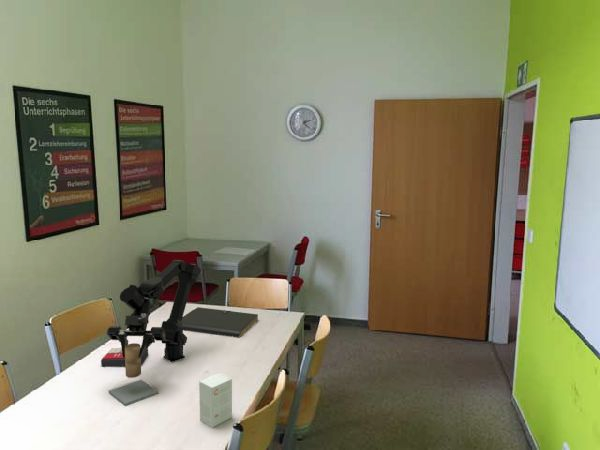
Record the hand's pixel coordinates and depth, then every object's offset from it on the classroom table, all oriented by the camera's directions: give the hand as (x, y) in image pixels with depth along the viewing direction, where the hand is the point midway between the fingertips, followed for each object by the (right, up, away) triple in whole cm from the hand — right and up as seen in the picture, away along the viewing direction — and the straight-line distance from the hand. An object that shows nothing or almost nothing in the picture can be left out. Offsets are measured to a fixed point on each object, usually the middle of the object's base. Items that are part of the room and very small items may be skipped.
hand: (131, 357), depth 162 cm
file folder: (+16, -4, +71) cm, 73 cm away
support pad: (-1, -13, +3) cm, 14 cm away
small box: (+30, -16, -11) cm, 36 cm away
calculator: (-12, -10, +29) cm, 33 cm away
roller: (0, -6, +2) cm, 7 cm away
